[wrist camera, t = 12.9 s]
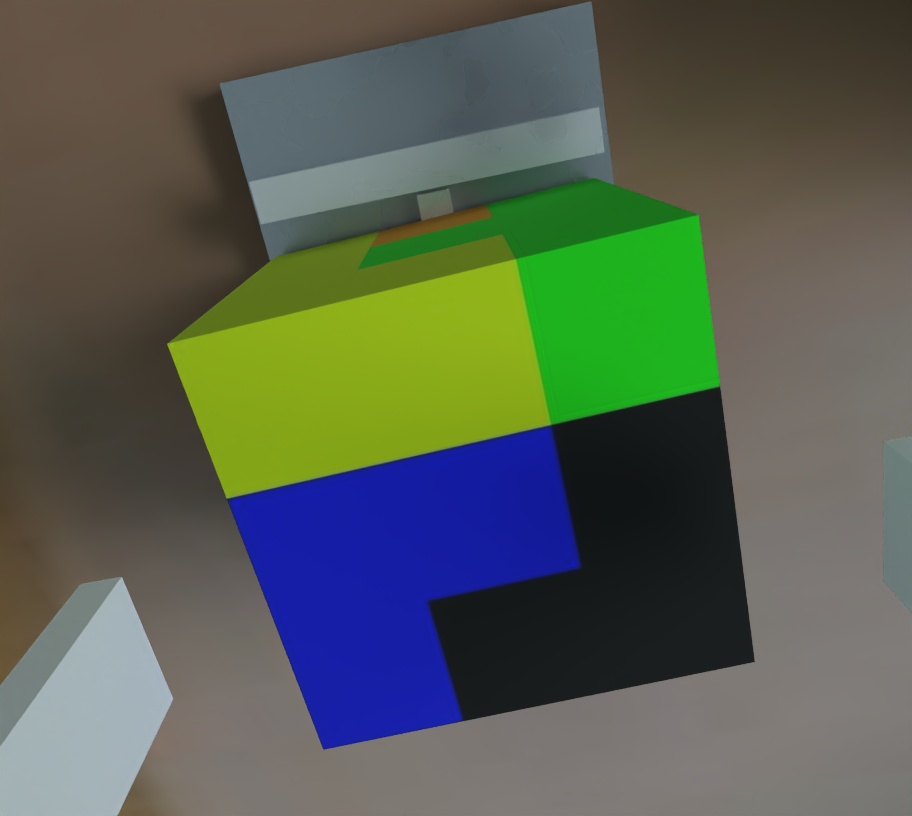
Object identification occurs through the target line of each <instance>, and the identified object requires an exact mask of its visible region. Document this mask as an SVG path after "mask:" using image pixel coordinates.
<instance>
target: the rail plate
mask: <svg viewBox="0 0 912 816" xmlns="http://www.w3.org/2000/svg"><path fill="white" fill-rule="evenodd" d="M220 88H221V91H222V95H223V98H224V102H225V105H226V109H227V112H228V116H229V119H230V123H231V126H232V130H233V133H234V137H235V140H236V144H237V147H238V151H239V154H240V158H241V161H242V165H243V168H244V172H245V175H246V179H247V182H248V186H249V189H250V193H251V196H252V200H253V203H254V207H255V210H256V214H257V217H258V221H259V224H260V228H261V231H262V235H263V238H264V242H265V245H266V249H267V252H268V256H269V259H270V261H271V260H272V259H274V258H275V257H277V256H281V255H285V254H289V253H293V252H297V251H301V250H305V249H309V248H313V247H317V246H321V245H325V244H329V243H333V242H337V241H341V240H345V239H349V238H353V237H357V236H361V235H365V234H369V233H373V232H377V231H382V230H386V229H390V228H394V227H398V226H402V225H406V224H410V223H414V222H418V221H422V220H426V219H430V218H434V217H438V216H442V215H446V214H450V213H454V212H458V211H462V210H466V209H470V208H474V207H478V206H482V205H486V204H490V203H494V202H498V201H502V200H506V199H510V198H515V197H519V196H523V195H527V194H531V193H535V192H539V191H543V190H547V189H551V188H555V187H559V186H563V185H567V184H571V183H575V182H579V181H583V180H587V179H591V178H596V179H599V180H602V181H605V182H607V183H610V184H613V185H614V179H613V171H612V163H611V155H610V147H609V139H608V131H607V123H606V115H605V107H604V99H603V91H602V83H601V75H600V66H599V58H598V50H597V42H596V34H595V26H594V18H593V10H592V2H591V1H590V2H586V3H581V4H577V5H572V6H568V7H563V8H559V9H554V10H550V11H545V12H540V13H536V14H531V15H527V16H522V17H518V18H513V19H509V20H504V21H500V22H495V23H491V24H486V25H482V26H477V27H473V28H468V29H464V30H459V31H455V32H450V33H446V34H441V35H437V36H432V37H428V38H423V39H419V40H414V41H410V42H405V43H401V44H396V45H391V46H387V47H382V48H378V49H373V50H369V51H364V52H360V53H355V54H351V55H346V56H342V57H337V58H333V59H328V60H324V61H319V62H315V63H310V64H306V65H301V66H297V67H292V68H288V69H283V70H279V71H274V72H270V73H265V74H261V75H256V76H252V77H247V78H243V79H238V80H233V81H229V82H224V83H220Z"/></svg>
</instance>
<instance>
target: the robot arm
mask: <svg viewBox="0 0 912 816" xmlns="http://www.w3.org/2000/svg"><path fill="white" fill-rule="evenodd" d="M883 582H884V583H885V584H886V585H887V586H888V587H889V588H890V590H891V591H892V592H893V593H894V594H895V595H896V596H897V597H898V598H899V599H900V601H901V602H902V603H903V604H904V605H905V606H906V607H907V608H908V609H909V610H910V612H911V613H912V436H910V437H905V438H899V439H893V440H888V441H883ZM172 700H173V697H172V695H171V693H170V690H169V688H168V686H167V683H166V681H165V678H164V676H163V674H162V671H161V669H160V667H159V664H158V662H157V659H156V657H155V655H154V652H153V650H152V648H151V645H150V643H149V640H148V638H147V636H146V633H145V631H144V629H143V626H142V624H141V621H140V619H139V617H138V614H137V612H136V610H135V607H134V605H133V602H132V600H131V598H130V595H129V593H128V591H127V588H126V586H125V583H124V581H123V579H122V577H117V578H111V579H106V580H100V581H94V582H89V583H83V584H80V585H79V586H78V588H77V589H76V590H75V591H74V593H73V594H72V595H71V596H70V598H69V599H68V600H67V602H66V603H65V604H64V605H63V607H62V608H61V609H60V610H59V612H58V613H57V614H56V615H55V617H54V618H53V619H52V621H51V622H50V623H49V624H48V626H47V627H46V628H45V629H44V631H43V632H42V633H41V634H40V636H39V637H38V638H37V639H36V641H35V642H34V643H33V645H32V646H31V647H30V648H29V650H28V651H27V652H26V653H25V655H24V656H23V657H22V658H21V660H20V661H19V662H18V664H17V665H16V666H15V667H14V669H13V670H12V671H11V672H10V674H9V675H8V676H7V677H6V679H5V680H4V681H3V682H2V684H1V685H0V816H117V815H118V813H119V811H120V809H121V807H122V805H123V803H124V801H125V798H126V796H127V794H128V792H129V790H130V788H131V786H132V784H133V782H134V780H135V778H136V775H137V773H138V771H139V769H140V767H141V765H142V763H143V761H144V759H145V757H146V755H147V753H148V750H149V748H150V746H151V744H152V742H153V740H154V738H155V736H156V734H157V732H158V730H159V727H160V725H161V723H162V721H163V719H164V717H165V715H166V713H167V711H168V709H169V707H170V704H171V702H172Z"/></svg>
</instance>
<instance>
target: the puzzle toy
mask: <svg viewBox="0 0 912 816" xmlns="http://www.w3.org/2000/svg"><path fill="white" fill-rule="evenodd" d="M167 345H168V347H169V350H170V353H171V355H172V358H173V360H174V363H175V366H176V368H177V371H178V373H179V376H180V379H181V381H182V384H183V386H184V389H185V392H186V394H187V397H188V399H189V402H190V405H191V407H192V410H193V412H194V415H195V417H196V420H197V423H198V425H199V428H200V430H201V433H202V436H203V438H204V441H205V443H206V446H207V449H208V451H209V454H210V456H211V459H212V462H213V464H214V467H215V469H216V472H217V475H218V477H219V480H220V482H221V485H222V488H223V490H224V493H225V495H226V498H227V501H228V503H229V506H230V508H231V511H232V513H233V516H234V519H235V521H236V524H237V526H238V529H239V532H240V534H241V537H242V539H243V542H244V545H245V547H246V550H247V552H248V555H249V558H250V560H251V563H252V565H253V568H254V571H255V573H256V576H257V578H258V581H259V584H260V586H261V589H262V591H263V594H264V596H265V599H266V602H267V604H268V607H269V609H270V612H271V615H272V617H273V620H274V622H275V625H276V628H277V630H278V633H279V635H280V638H281V641H282V643H283V646H284V648H285V651H286V654H287V656H288V659H289V661H290V664H291V667H292V669H293V672H294V674H295V677H296V680H297V682H298V685H299V687H300V690H301V692H302V695H303V698H304V700H305V703H306V705H307V708H308V711H309V713H310V716H311V718H312V721H313V724H314V726H315V729H316V731H317V734H318V737H319V739H320V742H321V744H322V747H323V750H324V749H329V748H334V747H339V746H344V745H348V744H353V743H358V742H363V741H368V740H373V739H378V738H383V737H388V736H393V735H398V734H403V733H407V732H412V731H417V730H422V729H427V728H432V727H437V726H442V725H447V724H452V723H457V722H461V721H466V720H471V719H476V718H481V717H486V716H491V715H496V714H501V713H506V712H511V711H516V710H520V709H525V708H530V707H535V706H540V705H545V704H550V703H555V702H560V701H565V700H570V699H575V698H579V697H584V696H589V695H594V694H599V693H604V692H609V691H614V690H619V689H624V688H629V687H633V686H638V685H643V684H648V683H653V682H658V681H663V680H668V679H673V678H678V677H683V676H688V675H692V674H697V673H702V672H707V671H712V670H717V669H722V668H727V667H732V666H737V665H742V664H747V663H751V662H755V661H754V653H753V645H752V637H751V629H750V621H749V613H748V605H747V597H746V589H745V581H744V573H743V565H742V557H741V549H740V541H739V533H738V525H737V517H736V509H735V502H734V494H733V486H732V478H731V470H730V462H729V454H728V446H727V438H726V430H725V422H724V414H723V406H722V398H721V390H720V382H719V374H718V366H717V358H716V350H715V342H714V334H713V326H712V318H711V310H710V302H709V294H708V286H707V278H706V270H705V263H704V255H703V247H702V239H701V231H700V223H699V215H698V214H695V213H692V212H689V211H686V210H684V209H681V208H678V207H675V206H672V205H669V204H667V203H664V202H661V201H658V200H655V199H653V198H650V197H647V196H644V195H641V194H638V193H636V192H633V191H630V190H627V189H624V188H622V187H619V186H616V185H613V184H610V183H607V182H605V181H602V180H599V179H596V178H591V179H587V180H583V181H579V182H575V183H571V184H567V185H563V186H559V187H555V188H551V189H547V190H543V191H539V192H535V193H531V194H527V195H523V196H519V197H515V198H510V199H506V200H502V201H498V202H494V203H490V204H486V205H482V206H478V207H474V208H470V209H466V210H462V211H458V212H454V213H450V214H446V215H442V216H438V217H434V218H430V219H426V220H422V221H418V222H414V223H410V224H406V225H402V226H398V227H394V228H390V229H386V230H382V231H377V232H373V233H369V234H365V235H361V236H357V237H353V238H349V239H345V240H341V241H337V242H333V243H329V244H325V245H321V246H317V247H313V248H309V249H305V250H301V251H297V252H293V253H289V254H285V255H281V256H277V257H275V258H274V259H272V260H271V261H270V262H269V263H267V264H266V265H265V266H264V267H262V268H261V269H260V270H259V271H257V272H256V273H255V274H254V275H252V276H251V277H250V278H249V279H247V280H246V281H245V282H244V283H242V284H241V285H240V286H239V287H237V288H236V289H235V290H234V291H232V292H231V293H230V294H229V295H227V296H226V297H225V298H224V299H222V300H221V301H220V302H219V303H217V304H216V305H215V306H214V307H212V308H211V309H210V310H209V311H207V312H206V313H205V314H204V315H202V316H201V317H200V318H199V319H197V320H196V321H195V322H194V323H192V324H191V325H190V326H189V327H187V328H186V329H185V330H184V331H182V332H181V333H180V334H179V335H177V336H176V337H175V338H174V339H172V340H171V341H170V342H169V343H167Z"/></svg>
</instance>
